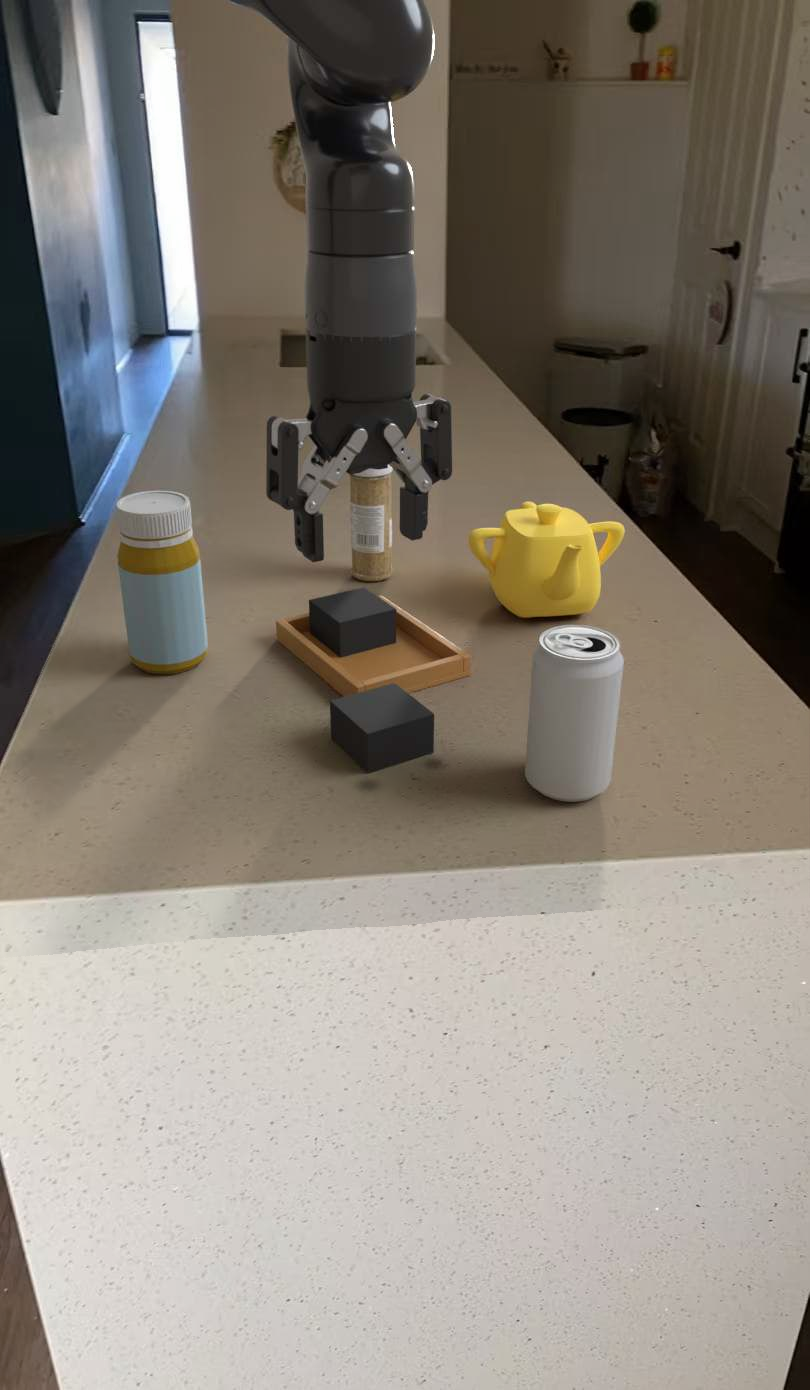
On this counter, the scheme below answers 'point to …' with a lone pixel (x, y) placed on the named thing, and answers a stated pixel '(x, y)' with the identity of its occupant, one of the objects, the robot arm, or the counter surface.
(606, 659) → the beverage can
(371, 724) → the pad
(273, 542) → the counter surface
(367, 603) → the pad
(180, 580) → the bottle
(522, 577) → the teapot
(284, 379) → the counter surface
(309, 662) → the tray
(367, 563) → the sprinkles bottle
